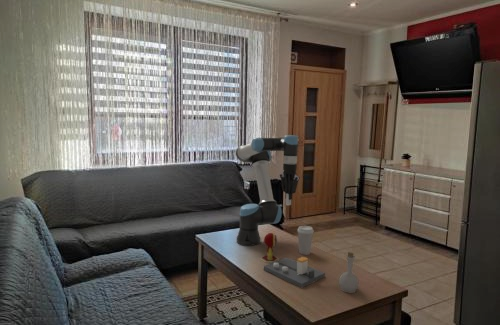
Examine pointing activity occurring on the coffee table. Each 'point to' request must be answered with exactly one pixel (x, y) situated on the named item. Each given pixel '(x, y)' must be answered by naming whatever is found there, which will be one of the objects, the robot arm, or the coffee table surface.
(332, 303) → the coffee table surface
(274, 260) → the figurine
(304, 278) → the console
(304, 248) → the coffee cup
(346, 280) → the potion bottle
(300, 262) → the block
